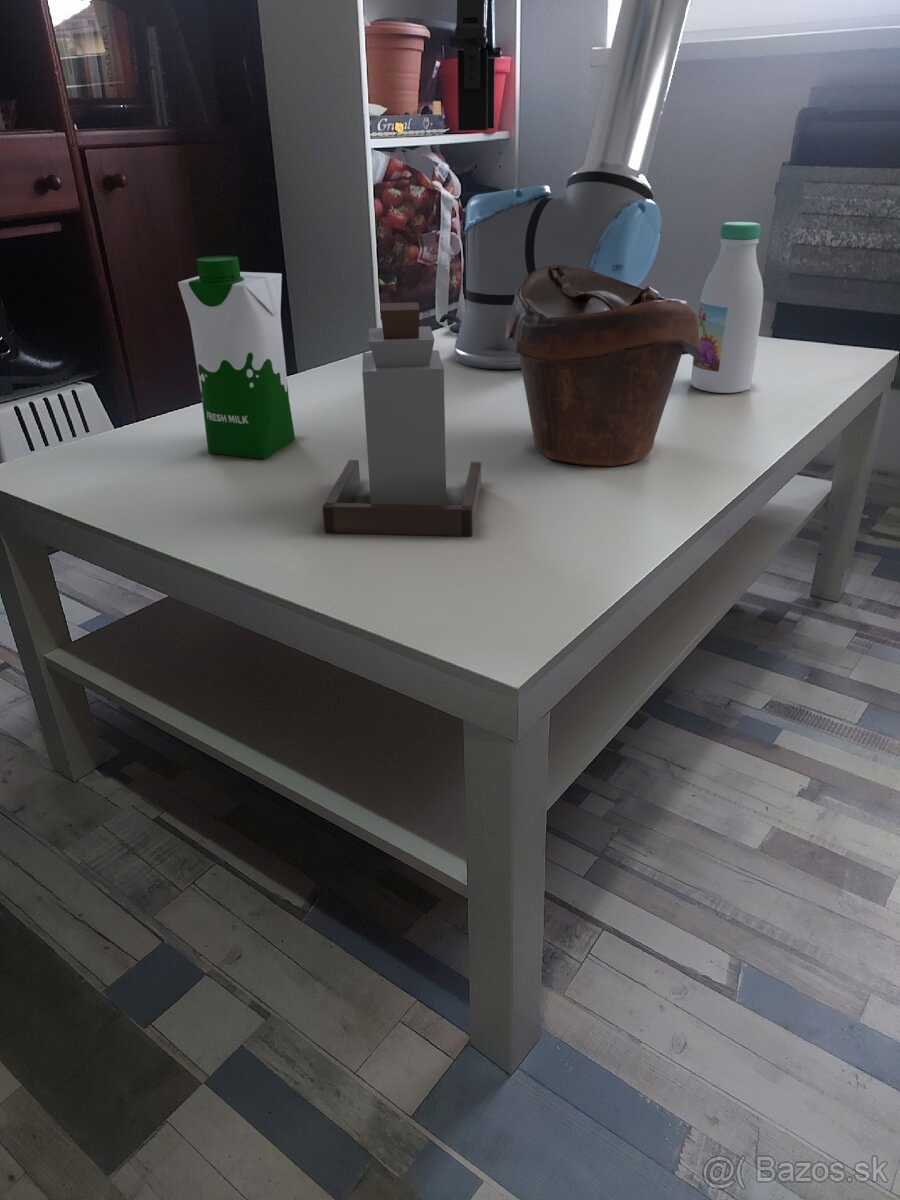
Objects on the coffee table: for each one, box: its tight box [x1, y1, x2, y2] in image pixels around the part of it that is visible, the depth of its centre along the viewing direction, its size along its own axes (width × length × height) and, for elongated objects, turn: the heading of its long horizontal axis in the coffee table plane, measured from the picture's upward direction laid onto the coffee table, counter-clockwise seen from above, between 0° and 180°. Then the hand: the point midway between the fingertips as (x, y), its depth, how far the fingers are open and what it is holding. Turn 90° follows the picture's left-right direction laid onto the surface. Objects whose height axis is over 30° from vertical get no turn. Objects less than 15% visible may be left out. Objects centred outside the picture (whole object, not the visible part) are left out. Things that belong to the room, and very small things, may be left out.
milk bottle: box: [690, 221, 764, 394], centre depth 113 cm, size 8×8×20 cm
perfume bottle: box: [361, 301, 447, 505], centre depth 79 cm, size 7×7×18 cm
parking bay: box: [321, 459, 482, 537], centre depth 82 cm, size 12×13×2 cm
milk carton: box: [177, 255, 296, 460], centre depth 94 cm, size 9×9×20 cm
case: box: [506, 265, 701, 467], centre depth 92 cm, size 18×20×18 cm
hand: (477, 129), depth 90 cm, fingers open, 13 cm apart
